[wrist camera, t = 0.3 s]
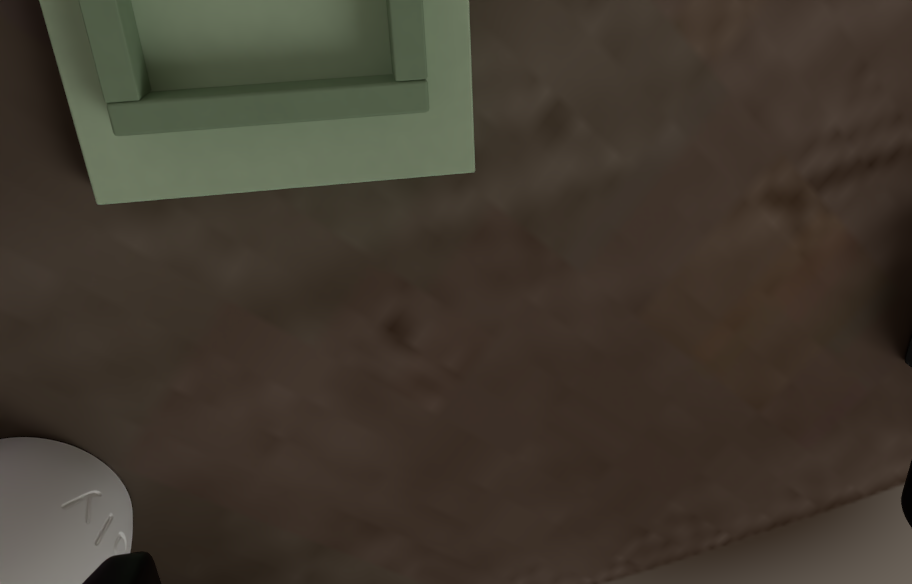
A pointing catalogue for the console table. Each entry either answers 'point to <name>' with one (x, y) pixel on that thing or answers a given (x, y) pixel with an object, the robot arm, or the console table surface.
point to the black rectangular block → (909, 354)
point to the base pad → (263, 92)
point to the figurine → (58, 512)
